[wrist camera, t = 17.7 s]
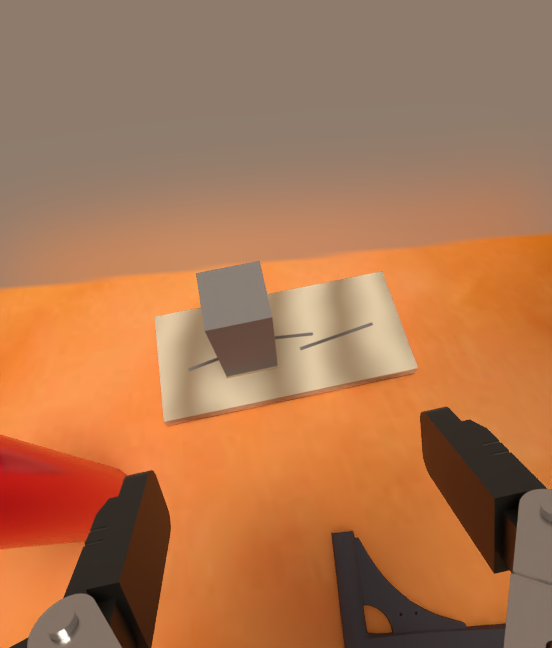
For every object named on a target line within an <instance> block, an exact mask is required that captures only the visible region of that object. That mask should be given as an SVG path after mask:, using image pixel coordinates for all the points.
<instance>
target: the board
mask: <svg viewBox="0 0 552 648" xmlns="http://www.w3.org/2000/svg"><path fill="white" fill-rule="evenodd" d="M267 296H268V300H269V305H270V309H271V314H272V319H273V328H274V337H275V345H276V354H277V362H278V366H279V368H274V369H269V370H264V371H260V372H255V373H250V374H245V375H241V376H236V377H231V378H226V374H225V372H224V370H223V368H222V366H221V364H220V362H219V360H218V358H217V356H216V354H215V351H214V349H213V347H212V345H211V343H210V341H209V339H208V337H207V335H206V333H205V330H204V323H203V317H202V310H201V308H196V309H191V310H186V311H181V312H176V313H171V314H166V315H161V316H156V317H155V327H156V338H157V349H158V361H159V372H160V383H161V395H162V406H163V417H164V422H165V423H166V424H167V425H174V424H179V423H184V422H188V421H193V420H198V419H202V418H207V417H212V416H216V415H221V414H226V413H231V412H235V411H240V410H245V409H249V408H254V407H259V406H264V405H268V404H273V403H278V402H282V401H287V400H292V399H296V398H301V397H306V396H311V395H315V394H320V393H325V392H329V391H334V390H339V389H344V388H348V387H353V386H358V385H362V384H367V383H372V382H377V381H381V380H386V379H391V378H395V377H400V376H405V375H409V374H414V372H415V371H416V370H417V369H418V367H417V364H416V361H415V359H414V356H413V353H412V350H411V348H410V345H409V342H408V340H407V337H406V334H405V332H404V329H403V326H402V323H401V321H400V318H399V315H398V313H397V310H396V307H395V304H394V302H393V299H392V296H391V294H390V291H389V288H388V286H387V283H386V280H385V277H384V275H383V272H382V271H381V272H376V273H371V274H366V275H361V276H356V277H351V278H346V279H341V280H336V281H331V282H326V283H321V284H316V285H311V286H306V287H301V288H296V289H291V290H286V291H281V292H276V293H271V294H267Z"/></svg>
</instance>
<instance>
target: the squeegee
mask: <svg viewBox="0 0 552 648" xmlns="http://www.w3.org/2000/svg"><path fill="white" fill-rule="evenodd" d="M332 540H333V549H334V557H335V566H336V575H337V583H338V592H339V600H340V609H341V618H342V626H343V635H344V643H345V648H504V639H505V629H506V624H496V625H484V626H471V627H466V624H465V623H463V622H460V621H456V620H453V619H449V618H446V617H442V616H439V615H437V614H435V613H432V612H430V611H428V610H426V609H424V608H422V607H420V606H418V605H416V604H415V603H413V602H411V601H410V600H409V599H407V598H406V597H405V596H404V595H402V594H401V593H400V592H399V591H398V590H397V589H396V588H394V587H393V586H392V585H391V584H390V583H389V582H388V580H387V579H386V578H385V577H384V576H383V575H382V574H381V572H380V571H379V570H378V569H377V567H376V566H375V564H374V563H373V562H372V560H371V558H370V557H369V555H368V554H367V552H366V550H365V548H364V547H363V545H362V543H361V541H360V540H359V538H354V535H353V531H350V532H342V533H332ZM363 605H370V606H373V607H376V608H378V609H379V610H381V611H382V612H383V613H384V614H385V615H386V616H387V618H388V620H389V621H390V623H391V626H392V630H393V633H380V634H375V633H368V632H367V629H366V623H365V616H364V608H363ZM414 612H416V614H414ZM400 613H401V615H399V614H400Z"/></svg>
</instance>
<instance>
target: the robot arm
mask: <svg viewBox="0 0 552 648" xmlns="http://www.w3.org/2000/svg"><path fill="white" fill-rule="evenodd" d="M420 423H421V437H422V451H423V459H424V463H425V466H426V468H427V471H428V473H429V475H430V477H431V478H432V480H433V481H434V483H435V484H436V486H437V487H438V489H439V490H440V492H441V493H442V495H443V496H444V498H445V499H446V501H447V503H448V504H449V506H450V507H451V509H452V510H453V512H454V513H455V515H456V516H457V518H458V519H459V521H460V522H461V524H462V525H463V527H464V528H465V530H466V531H467V533H468V535H469V536H470V538H471V539H472V541H473V542H474V544H475V545H476V547H477V548H478V550H479V551H480V553H481V554H482V556H483V557H484V559H485V560H486V562H487V563H488V565H489V566H490V568H491V570H492V571H493V573H494V574H495V573H499V572H504V571H508V570H510V571H511V578H510V588H509V598H508V609H507V619H506V629H505V639H504V648H552V490H551V489H547V488H546V487H545V486H544V485H543V484H542V483H541V482H540V481H539V480H538V479H537V478H536V477H535V476H534V475H533V474H532V473H531V472H530V471H529V470H528V469H527V468H526V467H525V466H524V465H523V464H522V463H521V462H520V461H519V460H518V459H517V458H516V457H515V456H514V455H513V454H512V453H509V450H508V449H507V448H506V447H505V446H504V445H503V444H502V443H500V442H499V440H498V439H497V438H496V437H495V436H494V435H493V434H492V433H491V432H490V431H489V430H488V429H487V428H485V427H483V426H481V425H479V424H477V423H475V422H473V421H471V420H466V421H462V422H461V420H460V419H459V418H458V417H457V416H456V415H455V414H454V413H453V412H452V411H451V410H450V409H449V408H448V407H443V408H438V409H434V410H429V411H424V412H422V413H421V415H420ZM170 530H171V525H170V515H169V511H168V508H167V505H166V502H165V499H164V497H163V494H162V491H161V488H160V485H159V483H158V480H157V477H156V475H155V473H154V471H152V470H151V471H147V472H142V473H138V474H133V475H128V476H126V477H125V478H124V481H123V484H122V486H121V489H120V492H119V495H118V496H117V497H113V498H109V499H108V500H107V502H106V503H105V504H104V505H103V506H102V508H101V509H100V510H99V511H98V513H97V514H96V516H95V519H94V521H93V524H92V526H91V529H90V533H89V534H88V537H87V539H86V542H85V547H83V549H82V552H81V555H80V557H79V560H78V562H77V565H76V567H75V570H74V572H73V575H72V577H71V580H70V583H69V585H68V588H67V590H66V593H65V595H64V598H63V599H61V600H59V601H58V602H56V603H55V604H53V605H52V606H51V607H50V608H49V609H47V610H46V611H45V612H44V613H43V614H42V616H41V617H40V618H39V619H38V621H37V622H36V623H35V625H34V627H33V628H32V630H31V633H30V635H29V637H28V638H26V639H25V640H23V641H21V642H19V643H17V644H15V645H14V646H12V647H10V648H151V646H152V640H153V634H154V628H155V622H156V616H157V610H158V604H159V598H160V592H161V586H162V580H163V574H164V568H165V562H166V556H167V550H168V544H169V538H170Z"/></svg>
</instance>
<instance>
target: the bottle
mask: <svg viewBox="0 0 552 648" xmlns="http://www.w3.org/2000/svg"><path fill="white" fill-rule="evenodd" d="M125 477H126V474H125V473H123V472H122V471H120V470H119V469H116V468H113V467H110V466H106V465H103V464H100V463H96V462H93V461H89V460H86V459H82V458H79V457H75V456H72V455H69V454H65V453H62V452H58V451H55V450H51V449H48V448H45V447H41V446H38V445H34V444H31V443H27V442H24V441H21V440H17V439H14V438H10V437H7V436H3V435H0V549H9V548H19V547H29V546H40V545H50V544H60V543H71V542H81V541H86V539H87V537H88V534H89V533H90V529H91V526H92V524H93V521H94V519H95V516H96V514H97V513H98V511H99V510H100V509H101V508H102V506H103V505H104V504H105V503H106V502H107V500H108V499H109V498H113V497H117V496H118V495H119V492H120V489H121V486H122V484H123V481H124V478H125Z"/></svg>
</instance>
